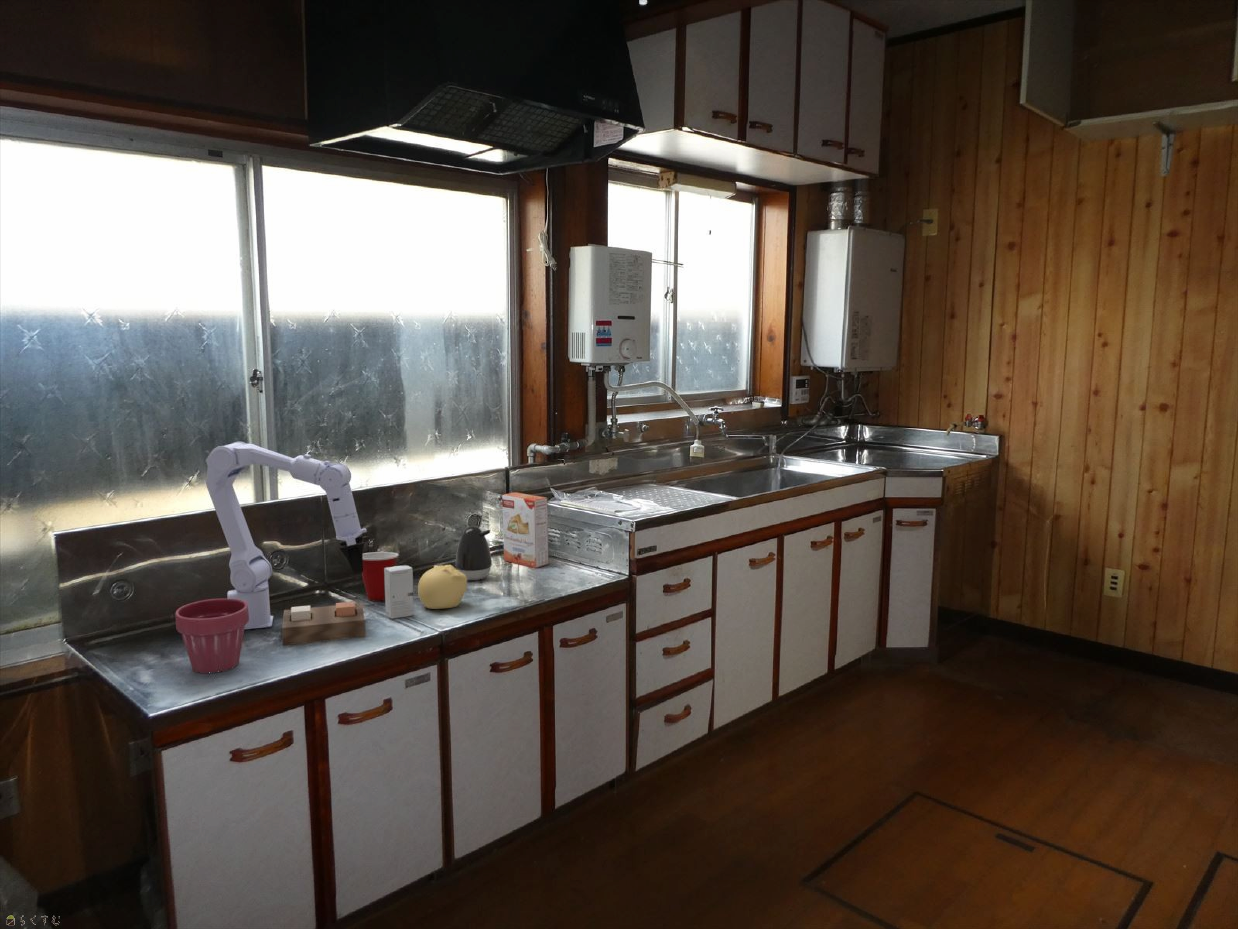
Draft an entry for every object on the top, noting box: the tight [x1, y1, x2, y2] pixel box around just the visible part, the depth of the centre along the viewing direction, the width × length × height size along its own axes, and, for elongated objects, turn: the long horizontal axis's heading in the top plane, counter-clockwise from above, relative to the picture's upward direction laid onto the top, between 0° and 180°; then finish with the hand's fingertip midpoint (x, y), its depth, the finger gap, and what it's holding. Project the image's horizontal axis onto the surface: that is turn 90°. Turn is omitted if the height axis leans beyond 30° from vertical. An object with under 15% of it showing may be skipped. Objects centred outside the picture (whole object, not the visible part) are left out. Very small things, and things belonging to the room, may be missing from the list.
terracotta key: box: [335, 601, 356, 617], centre depth 217 cm, size 4×4×4 cm
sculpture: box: [417, 564, 468, 610], centre depth 235 cm, size 11×12×11 cm
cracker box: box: [501, 492, 549, 569], centre depth 277 cm, size 14×6×21 cm, turn 50°
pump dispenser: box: [455, 525, 493, 581], centre depth 261 cm, size 10×10×15 cm
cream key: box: [290, 605, 311, 621], centre depth 214 cm, size 4×4×4 cm
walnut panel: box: [281, 602, 366, 646], centre depth 216 cm, size 18×14×4 cm
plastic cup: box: [361, 551, 399, 602], centre depth 242 cm, size 11×11×12 cm
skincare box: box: [384, 564, 415, 620], centre depth 228 cm, size 6×4×12 cm
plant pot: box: [175, 598, 249, 674], centre depth 194 cm, size 14×14×13 cm
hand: (358, 570), depth 218 cm, fingers open, 7 cm apart
